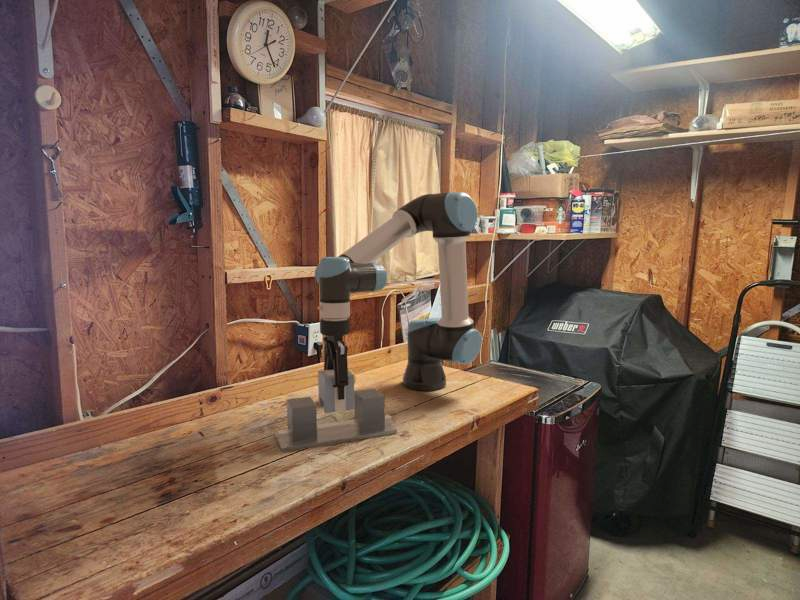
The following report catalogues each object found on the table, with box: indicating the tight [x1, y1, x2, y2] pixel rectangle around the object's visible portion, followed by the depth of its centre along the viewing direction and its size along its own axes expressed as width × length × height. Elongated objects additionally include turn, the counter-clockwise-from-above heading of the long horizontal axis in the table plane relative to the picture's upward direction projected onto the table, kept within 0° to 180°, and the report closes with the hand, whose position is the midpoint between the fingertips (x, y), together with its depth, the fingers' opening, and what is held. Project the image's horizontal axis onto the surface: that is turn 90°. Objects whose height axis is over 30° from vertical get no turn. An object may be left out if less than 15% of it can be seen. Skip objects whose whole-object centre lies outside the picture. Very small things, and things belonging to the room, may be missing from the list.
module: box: [317, 369, 355, 414], centre depth 128 cm, size 8×7×9 cm
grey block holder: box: [274, 388, 398, 453], centre depth 129 cm, size 30×10×10 cm, turn 113°
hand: (335, 405), depth 128 cm, fingers closed on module, 7 cm apart
